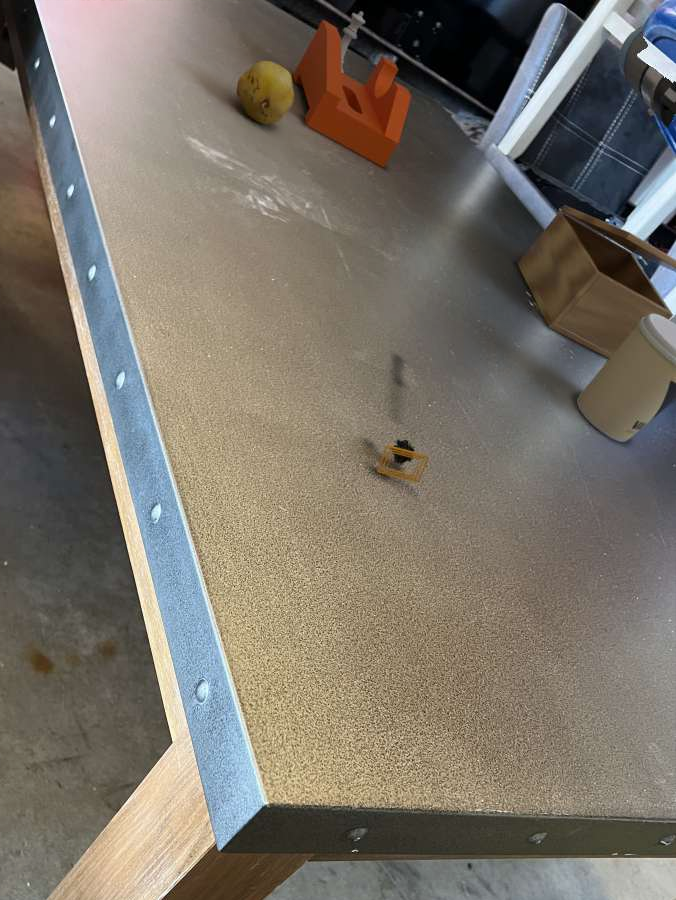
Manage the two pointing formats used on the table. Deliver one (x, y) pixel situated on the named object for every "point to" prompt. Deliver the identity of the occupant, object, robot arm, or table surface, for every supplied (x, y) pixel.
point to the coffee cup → (634, 381)
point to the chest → (588, 285)
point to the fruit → (266, 92)
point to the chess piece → (350, 33)
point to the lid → (623, 239)
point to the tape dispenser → (352, 99)
